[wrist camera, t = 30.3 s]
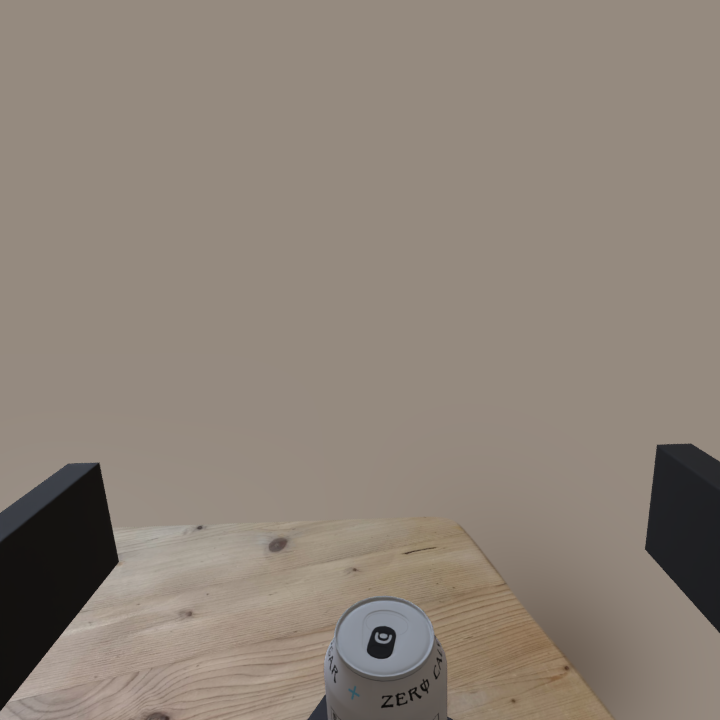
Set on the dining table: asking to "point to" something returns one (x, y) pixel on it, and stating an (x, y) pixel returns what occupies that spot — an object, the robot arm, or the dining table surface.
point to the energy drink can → (385, 664)
